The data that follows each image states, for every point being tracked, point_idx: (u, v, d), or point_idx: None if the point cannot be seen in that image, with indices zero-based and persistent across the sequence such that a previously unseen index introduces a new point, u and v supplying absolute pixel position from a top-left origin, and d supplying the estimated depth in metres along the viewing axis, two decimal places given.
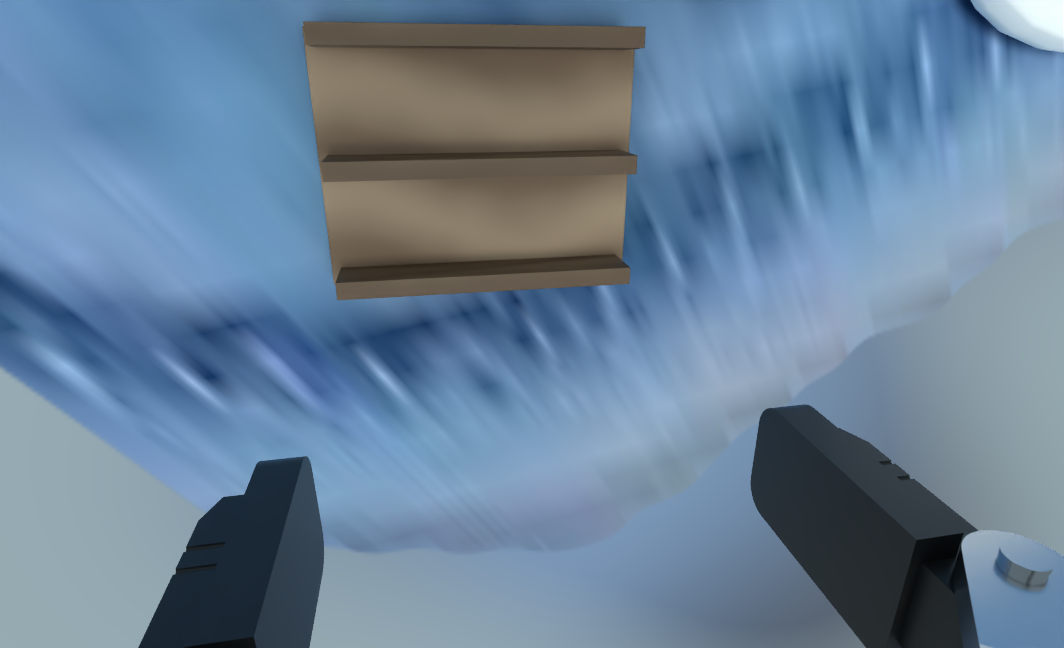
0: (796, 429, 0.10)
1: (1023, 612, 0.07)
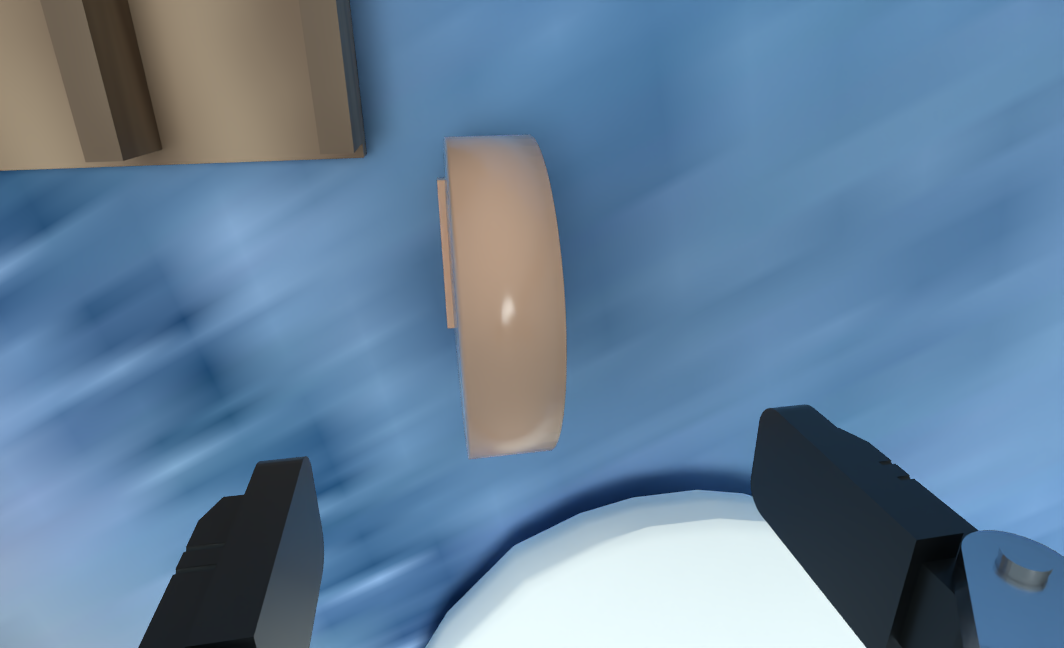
0: (796, 429, 0.10)
1: (1023, 612, 0.07)
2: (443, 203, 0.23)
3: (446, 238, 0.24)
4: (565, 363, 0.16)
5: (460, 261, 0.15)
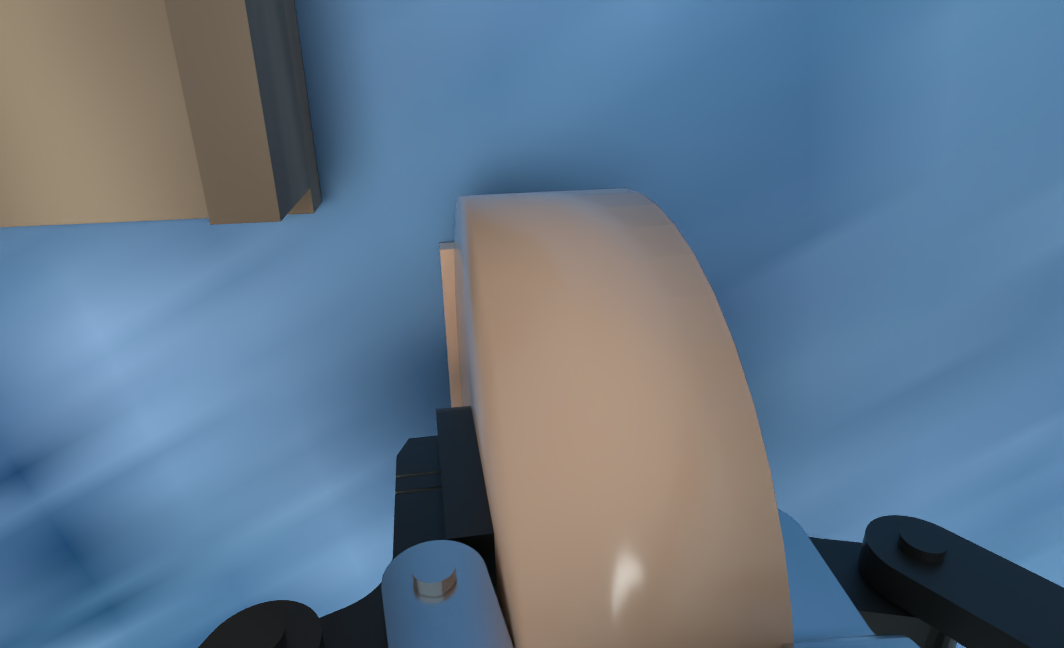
0: None
1: None
2: (450, 286, 0.14)
3: (455, 341, 0.15)
4: None
5: (520, 577, 0.05)
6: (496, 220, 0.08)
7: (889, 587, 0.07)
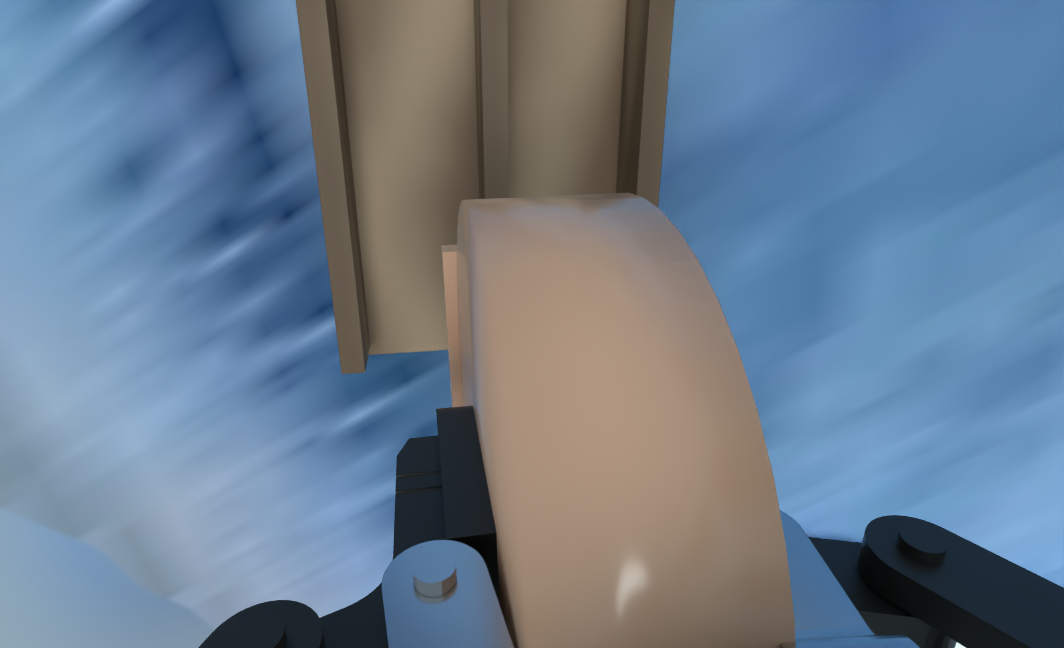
0: None
1: None
2: (452, 288, 0.14)
3: (456, 344, 0.15)
4: None
5: (524, 581, 0.05)
6: (500, 225, 0.08)
7: (889, 587, 0.07)
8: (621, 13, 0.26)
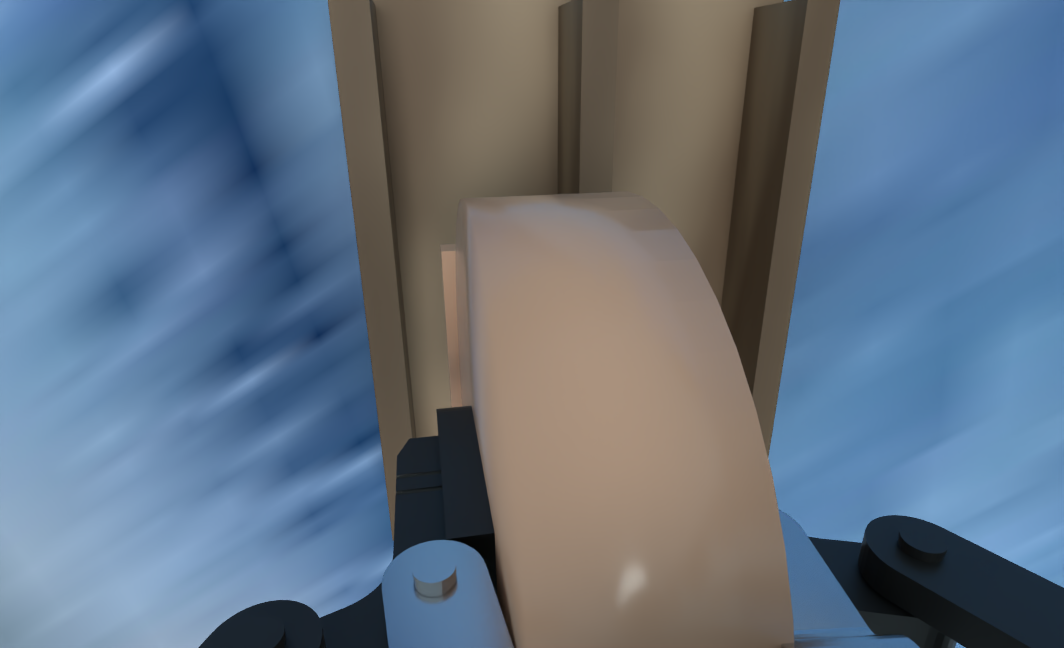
0: None
1: None
2: (451, 287, 0.14)
3: (455, 343, 0.15)
4: None
5: (522, 580, 0.05)
6: (499, 223, 0.08)
7: (889, 587, 0.07)
8: (740, 83, 0.21)
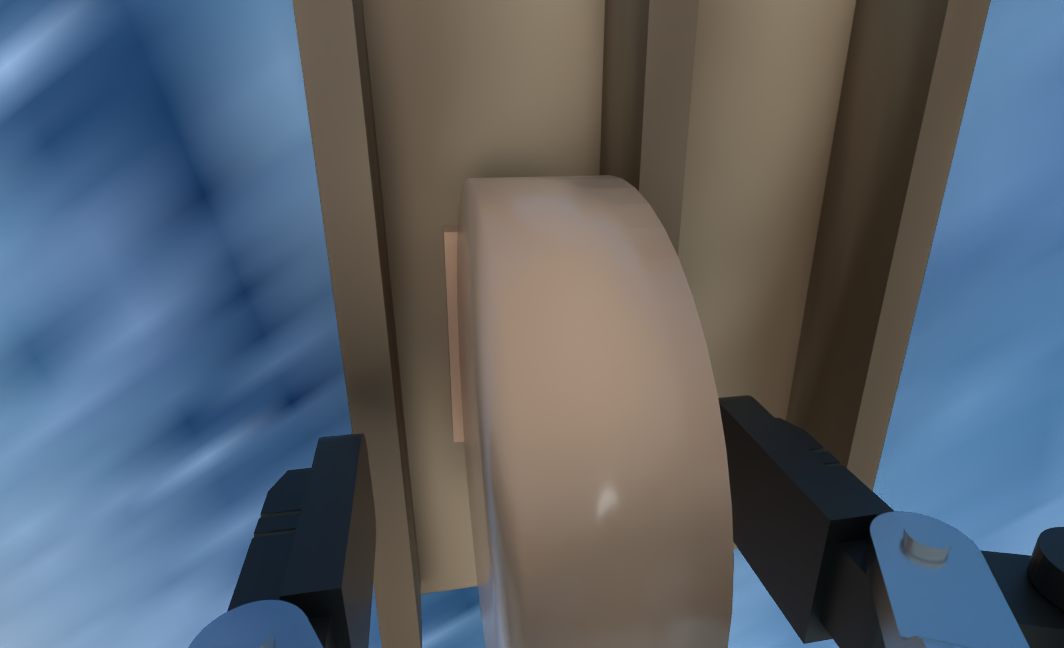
0: (734, 418, 0.10)
1: (917, 586, 0.07)
2: (452, 265, 0.15)
3: (455, 317, 0.16)
4: None
5: (518, 469, 0.07)
6: (500, 197, 0.09)
7: (1054, 589, 0.07)
8: (835, 83, 0.16)
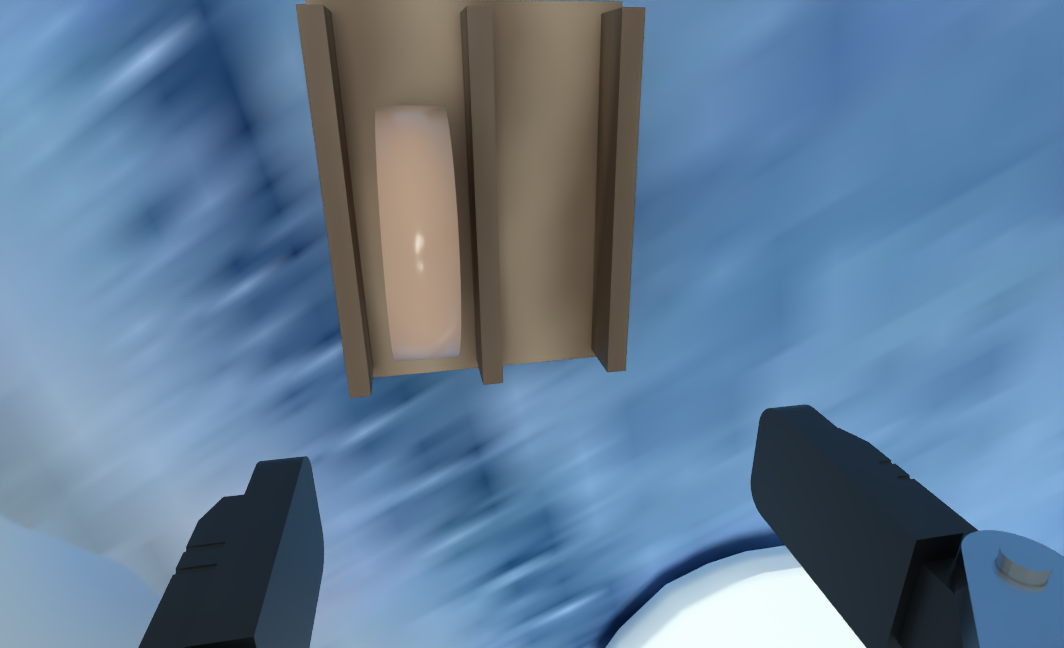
0: (796, 429, 0.10)
1: (1023, 612, 0.07)
2: None
3: None
4: None
5: (378, 192, 0.20)
6: (384, 109, 0.22)
7: None
8: (595, 67, 0.29)
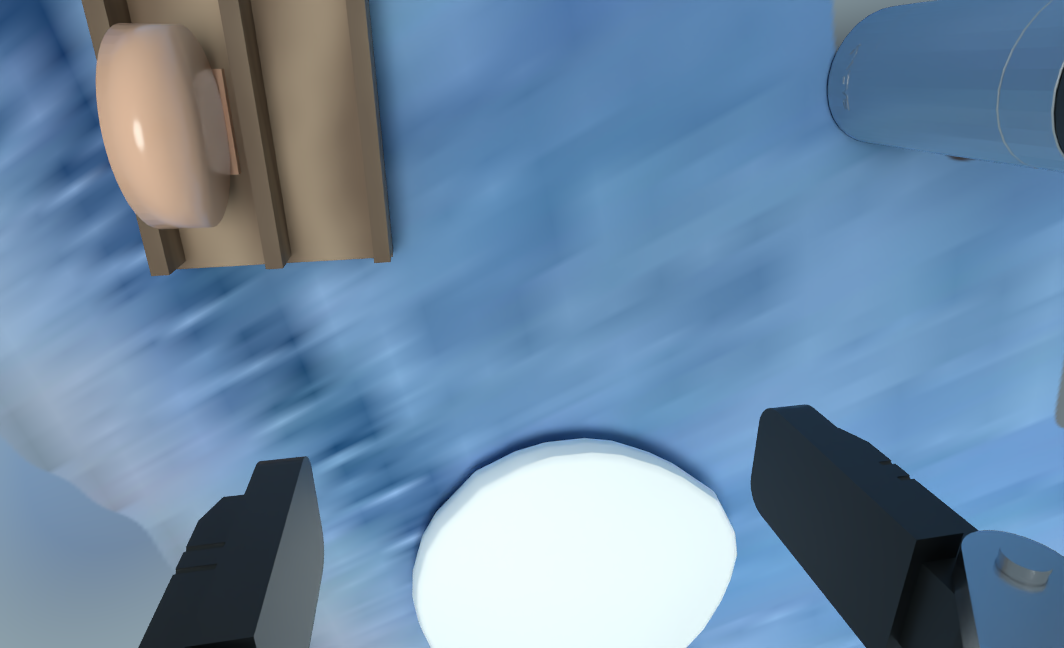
0: (796, 429, 0.10)
1: (1023, 612, 0.07)
2: None
3: None
4: (165, 142, 0.28)
5: (96, 78, 0.27)
6: (124, 23, 0.29)
7: None
8: None
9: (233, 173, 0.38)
